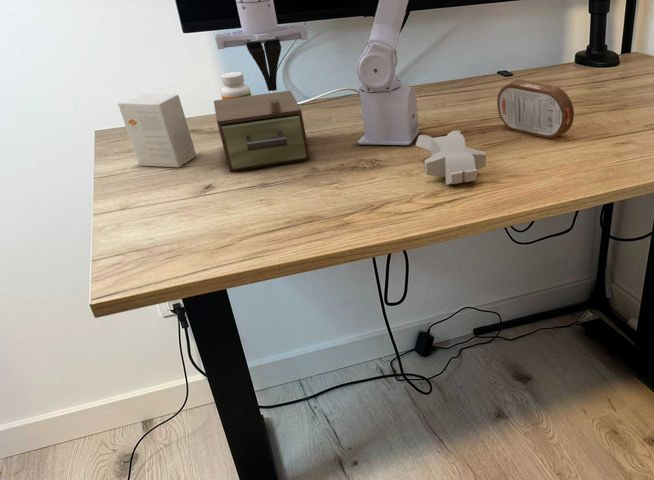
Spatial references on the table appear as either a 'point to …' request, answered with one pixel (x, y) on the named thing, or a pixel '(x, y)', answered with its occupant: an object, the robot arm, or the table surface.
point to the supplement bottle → (234, 86)
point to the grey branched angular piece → (451, 158)
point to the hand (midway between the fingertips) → (272, 89)
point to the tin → (535, 108)
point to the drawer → (264, 141)
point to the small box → (157, 130)
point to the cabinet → (257, 116)
